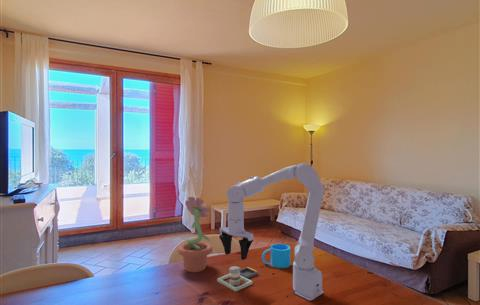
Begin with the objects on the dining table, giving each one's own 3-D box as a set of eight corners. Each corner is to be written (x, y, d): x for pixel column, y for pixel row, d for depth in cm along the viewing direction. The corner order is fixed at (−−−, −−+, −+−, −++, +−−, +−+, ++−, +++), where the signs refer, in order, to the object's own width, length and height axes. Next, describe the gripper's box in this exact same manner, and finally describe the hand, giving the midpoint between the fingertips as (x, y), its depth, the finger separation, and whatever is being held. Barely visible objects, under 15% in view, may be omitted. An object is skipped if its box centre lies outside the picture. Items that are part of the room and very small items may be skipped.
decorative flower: (221, 267, 116) (221, 195, 116) (201, 281, 103) (202, 200, 103) (192, 260, 122) (192, 192, 122) (170, 272, 110) (171, 197, 110)
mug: (288, 262, 121) (288, 243, 121) (292, 270, 113) (292, 250, 113) (260, 262, 121) (260, 244, 121) (262, 270, 113) (263, 250, 113)
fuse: (242, 283, 100) (242, 268, 100) (235, 287, 97) (235, 271, 97) (234, 280, 103) (234, 265, 103) (226, 284, 100) (227, 268, 100)
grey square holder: (257, 277, 107) (257, 271, 107) (246, 282, 103) (246, 275, 103) (247, 272, 111) (247, 266, 111) (235, 276, 107) (235, 270, 107)
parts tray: (252, 286, 99) (252, 281, 99) (235, 294, 94) (235, 288, 94) (233, 277, 106) (233, 272, 106) (217, 283, 101) (217, 278, 101)
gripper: (258, 219, 99) (258, 258, 99) (228, 213, 108) (228, 248, 108) (246, 223, 93) (246, 264, 93) (215, 217, 103) (215, 253, 103)
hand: (235, 256), depth 100 cm, fingers open, 7 cm apart
